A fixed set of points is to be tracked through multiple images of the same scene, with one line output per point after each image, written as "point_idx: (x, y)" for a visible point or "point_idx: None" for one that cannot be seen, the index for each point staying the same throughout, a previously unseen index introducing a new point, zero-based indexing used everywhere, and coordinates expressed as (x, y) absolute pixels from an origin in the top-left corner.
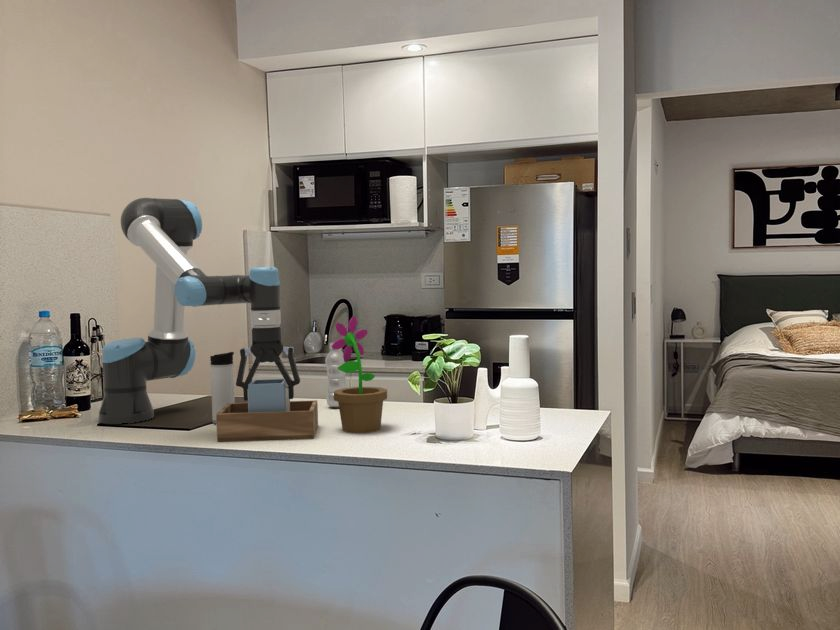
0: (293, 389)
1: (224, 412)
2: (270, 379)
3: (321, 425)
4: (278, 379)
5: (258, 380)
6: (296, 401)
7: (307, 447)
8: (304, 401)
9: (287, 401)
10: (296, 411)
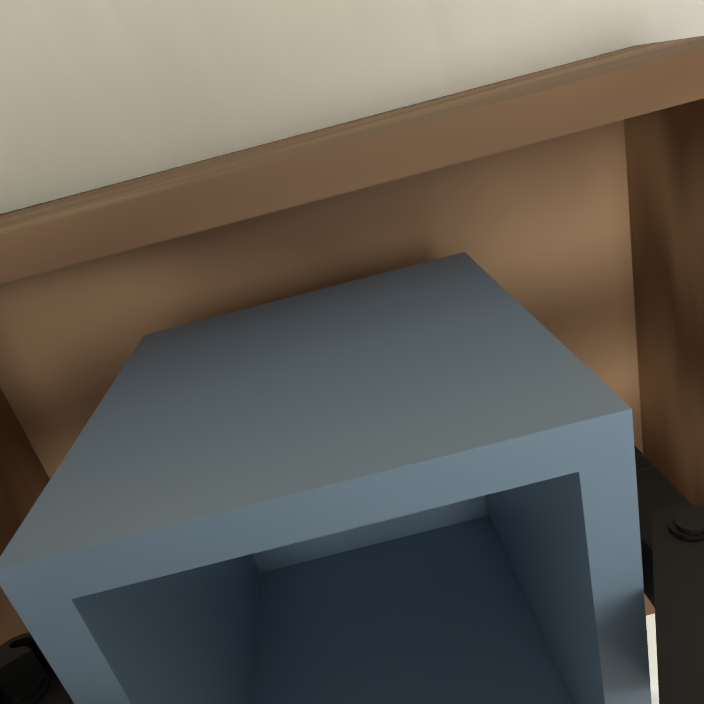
0: (677, 500)
1: (3, 628)
2: (321, 521)
3: (661, 24)
4: (472, 495)
5: (113, 581)
6: (551, 127)
7: (647, 620)
8: (649, 112)
9: None
10: (648, 605)
